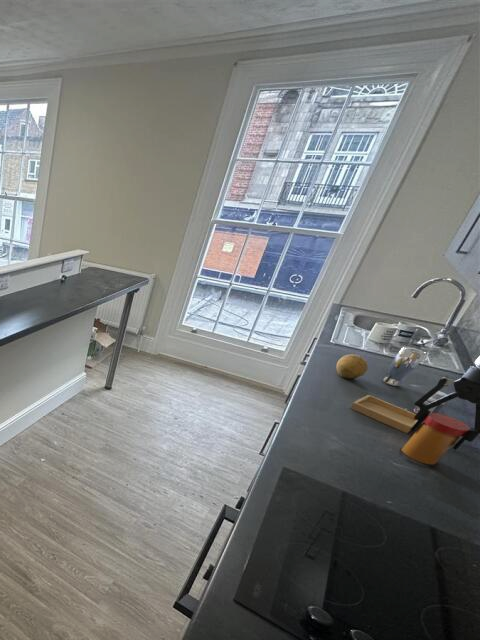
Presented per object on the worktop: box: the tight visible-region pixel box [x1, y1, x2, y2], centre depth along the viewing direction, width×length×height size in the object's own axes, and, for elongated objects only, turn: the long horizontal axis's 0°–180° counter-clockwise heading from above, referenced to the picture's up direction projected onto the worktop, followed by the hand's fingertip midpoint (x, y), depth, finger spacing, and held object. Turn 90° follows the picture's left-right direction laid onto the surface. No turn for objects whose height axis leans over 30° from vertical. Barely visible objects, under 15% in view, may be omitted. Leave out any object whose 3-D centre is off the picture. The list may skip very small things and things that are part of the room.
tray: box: [349, 394, 418, 434], centre depth 138 cm, size 16×14×2 cm
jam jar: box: [401, 422, 461, 466], centre depth 116 cm, size 8×8×12 cm
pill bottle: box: [413, 390, 448, 414], centre depth 140 cm, size 5×5×9 cm
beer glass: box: [380, 346, 426, 387], centre depth 158 cm, size 7×7×15 cm
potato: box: [335, 353, 369, 379], centre depth 162 cm, size 10×13×9 cm
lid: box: [423, 412, 470, 438], centre depth 113 cm, size 8×8×2 cm
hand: (433, 438), depth 115 cm, fingers closed on lid, 8 cm apart
